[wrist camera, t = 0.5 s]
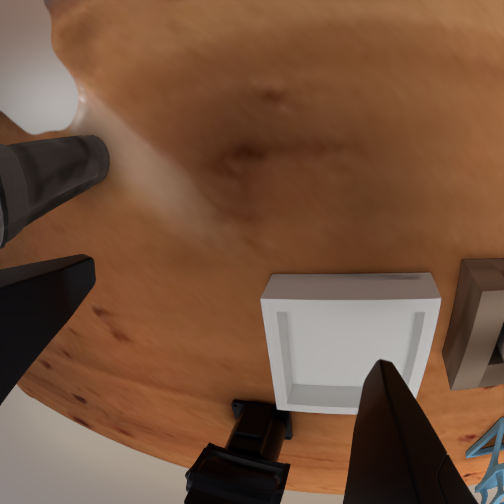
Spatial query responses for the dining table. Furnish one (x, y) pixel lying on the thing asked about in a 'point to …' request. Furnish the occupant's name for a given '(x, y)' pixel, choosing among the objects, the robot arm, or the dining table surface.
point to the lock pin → (501, 342)
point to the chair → (491, 463)
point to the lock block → (476, 326)
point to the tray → (345, 334)
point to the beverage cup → (45, 177)
